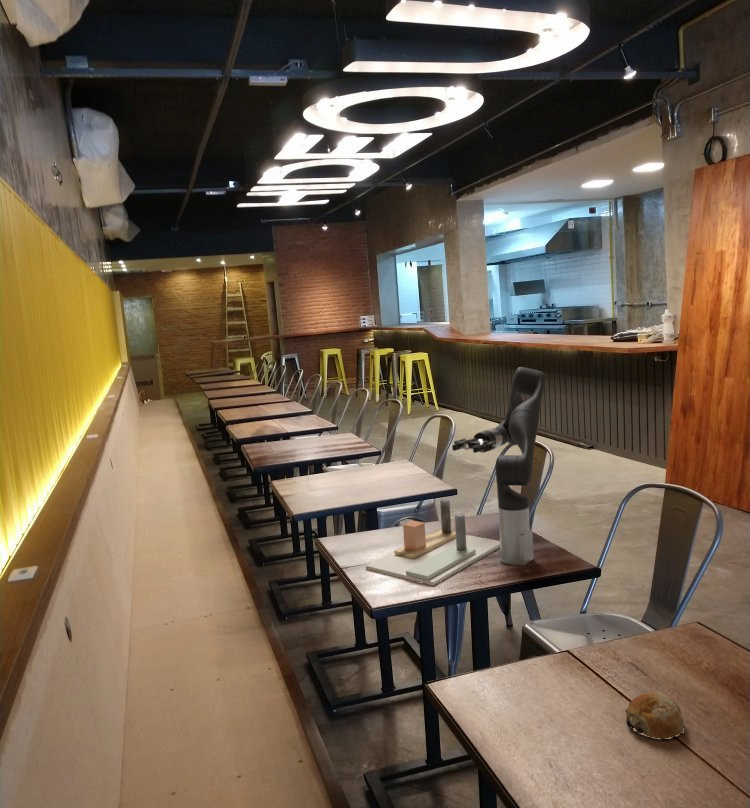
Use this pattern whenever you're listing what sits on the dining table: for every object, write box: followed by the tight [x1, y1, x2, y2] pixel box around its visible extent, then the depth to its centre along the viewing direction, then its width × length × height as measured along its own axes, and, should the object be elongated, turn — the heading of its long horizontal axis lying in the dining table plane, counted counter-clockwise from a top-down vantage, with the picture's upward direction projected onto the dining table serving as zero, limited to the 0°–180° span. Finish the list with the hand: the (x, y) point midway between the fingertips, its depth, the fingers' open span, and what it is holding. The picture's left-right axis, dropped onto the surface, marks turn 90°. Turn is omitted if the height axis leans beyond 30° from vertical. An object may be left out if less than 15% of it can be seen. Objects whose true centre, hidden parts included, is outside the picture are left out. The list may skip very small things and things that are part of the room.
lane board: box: [365, 534, 500, 586], centre depth 228 cm, size 26×40×1 cm, turn 140°
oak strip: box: [393, 499, 456, 559], centre depth 235 cm, size 8×26×12 cm, turn 140°
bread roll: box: [624, 691, 685, 739], centre depth 132 cm, size 10×10×8 cm
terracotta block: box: [402, 520, 426, 551], centre depth 230 cm, size 5×5×8 cm
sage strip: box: [406, 513, 476, 580], centre depth 217 cm, size 8×26×12 cm, turn 140°
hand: (463, 448), depth 247 cm, fingers open, 8 cm apart
